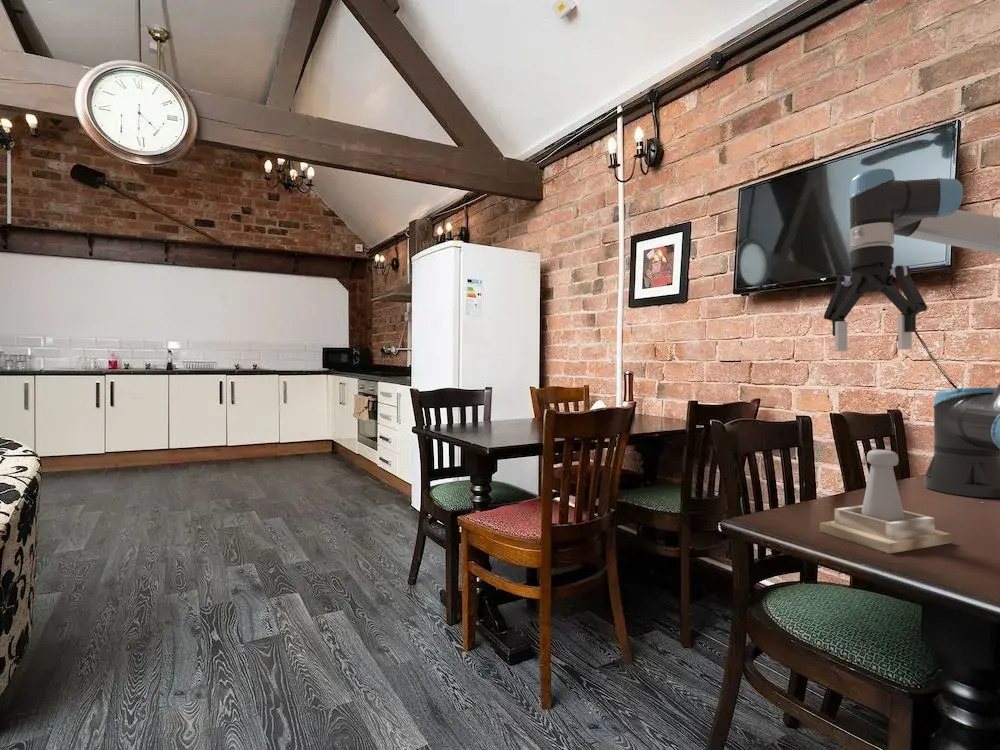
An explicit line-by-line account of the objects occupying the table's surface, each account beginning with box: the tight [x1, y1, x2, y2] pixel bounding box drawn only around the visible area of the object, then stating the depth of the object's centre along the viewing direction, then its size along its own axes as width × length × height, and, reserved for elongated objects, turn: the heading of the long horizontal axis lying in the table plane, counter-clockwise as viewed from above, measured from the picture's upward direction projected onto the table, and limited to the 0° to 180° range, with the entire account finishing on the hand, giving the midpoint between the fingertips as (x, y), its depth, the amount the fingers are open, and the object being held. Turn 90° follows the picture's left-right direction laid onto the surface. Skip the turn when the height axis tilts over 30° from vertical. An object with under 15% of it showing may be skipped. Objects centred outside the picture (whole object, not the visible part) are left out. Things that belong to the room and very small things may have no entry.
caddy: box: [819, 504, 952, 554], centre depth 91 cm, size 14×12×4 cm
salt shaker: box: [862, 449, 904, 522], centre depth 91 cm, size 6×6×13 cm
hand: (871, 350), depth 113 cm, fingers open, 13 cm apart
